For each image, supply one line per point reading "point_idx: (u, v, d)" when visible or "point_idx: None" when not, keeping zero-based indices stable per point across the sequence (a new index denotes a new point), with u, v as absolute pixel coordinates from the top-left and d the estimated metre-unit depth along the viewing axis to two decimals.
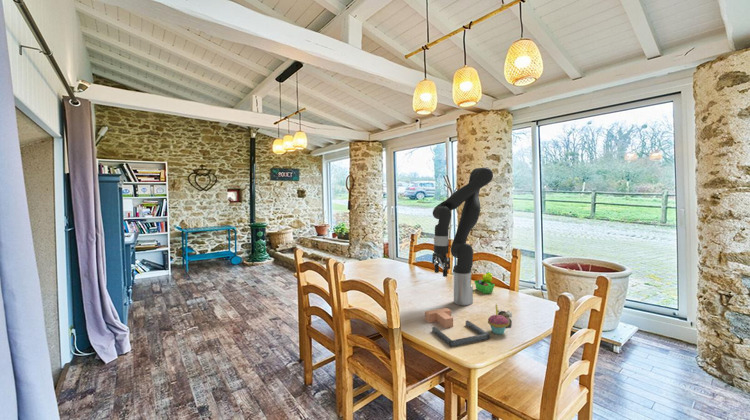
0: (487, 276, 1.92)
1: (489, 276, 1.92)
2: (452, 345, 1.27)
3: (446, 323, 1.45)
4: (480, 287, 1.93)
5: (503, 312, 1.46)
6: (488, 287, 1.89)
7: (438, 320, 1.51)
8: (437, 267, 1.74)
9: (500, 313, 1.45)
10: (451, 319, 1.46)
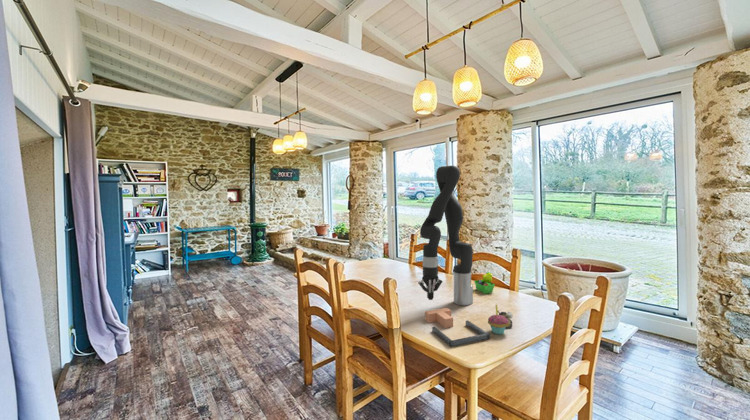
0: (487, 276, 1.92)
1: (489, 276, 1.92)
2: (452, 345, 1.27)
3: (446, 323, 1.45)
4: (480, 287, 1.93)
5: (504, 313, 1.45)
6: (488, 287, 1.89)
7: (438, 320, 1.51)
8: None
9: (501, 314, 1.44)
10: (451, 319, 1.46)
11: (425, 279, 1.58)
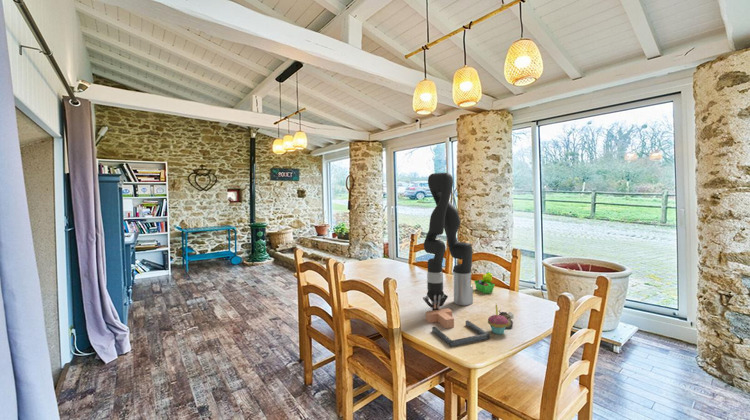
0: (487, 276, 1.92)
1: (489, 276, 1.92)
2: (452, 345, 1.27)
3: (447, 323, 1.44)
4: (480, 287, 1.93)
5: (504, 313, 1.45)
6: (488, 287, 1.89)
7: (439, 321, 1.50)
8: None
9: (501, 314, 1.44)
10: (452, 319, 1.45)
11: (430, 295, 1.54)
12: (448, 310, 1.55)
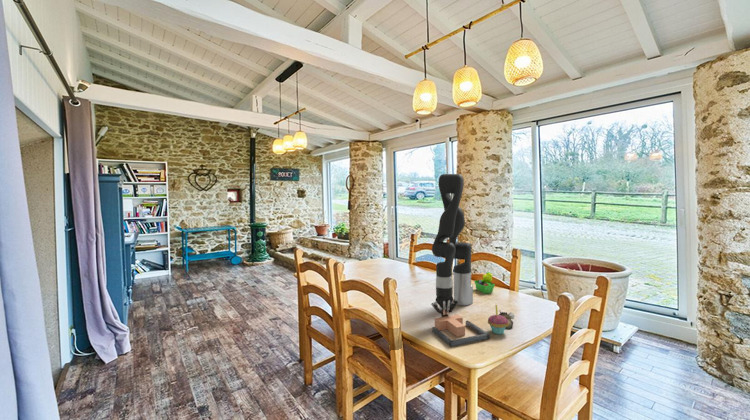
0: (487, 276, 1.92)
1: (489, 276, 1.92)
2: (452, 345, 1.27)
3: (458, 331, 1.36)
4: (480, 287, 1.93)
5: (504, 313, 1.45)
6: (488, 287, 1.89)
7: (449, 328, 1.42)
8: None
9: (501, 314, 1.44)
10: (463, 327, 1.37)
11: (439, 300, 1.46)
12: (458, 317, 1.47)
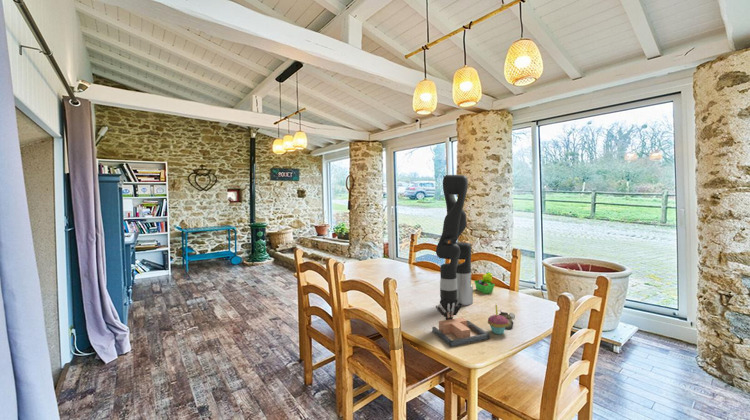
0: (487, 276, 1.92)
1: (489, 276, 1.92)
2: (452, 345, 1.27)
3: (463, 335, 1.33)
4: (480, 287, 1.93)
5: (504, 313, 1.45)
6: (488, 287, 1.89)
7: (453, 331, 1.39)
8: None
9: (501, 314, 1.44)
10: (468, 330, 1.33)
11: (443, 303, 1.43)
12: (463, 320, 1.43)
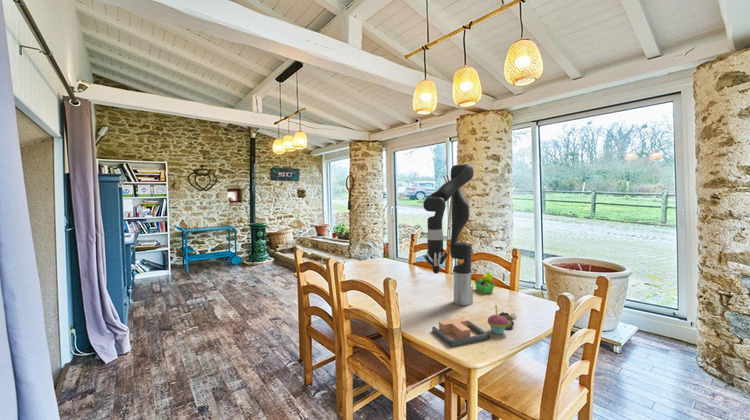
0: (487, 276, 1.92)
1: (489, 276, 1.92)
2: (452, 345, 1.27)
3: (463, 335, 1.33)
4: (480, 287, 1.93)
5: (505, 314, 1.44)
6: (488, 287, 1.89)
7: (454, 331, 1.38)
8: None
9: (501, 314, 1.44)
10: (468, 330, 1.33)
11: (430, 252, 1.54)
12: (463, 320, 1.43)
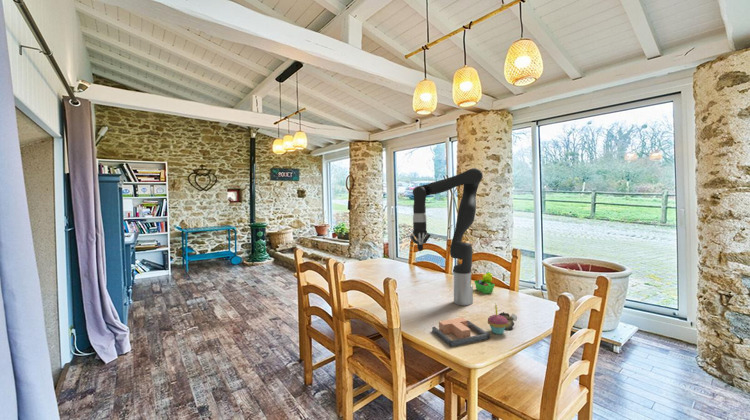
0: (487, 276, 1.92)
1: (489, 276, 1.92)
2: (452, 345, 1.27)
3: (463, 335, 1.33)
4: (480, 287, 1.93)
5: (505, 314, 1.44)
6: (488, 287, 1.89)
7: (454, 331, 1.38)
8: None
9: (501, 315, 1.44)
10: (468, 330, 1.33)
11: (415, 233, 1.83)
12: (463, 320, 1.43)
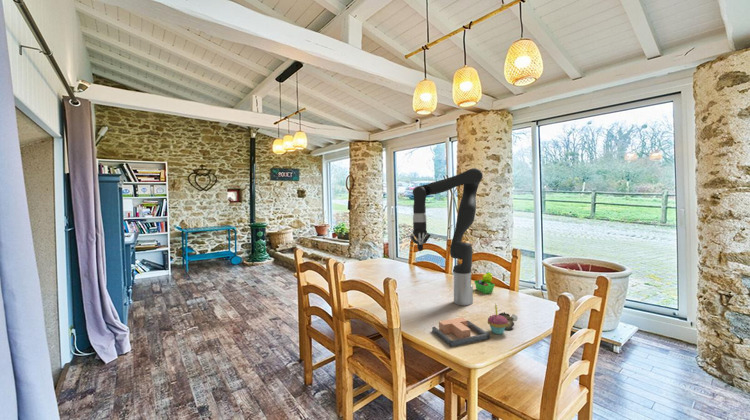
0: (487, 276, 1.92)
1: (489, 276, 1.92)
2: (452, 345, 1.27)
3: (463, 335, 1.33)
4: (480, 287, 1.93)
5: (505, 314, 1.44)
6: (488, 287, 1.89)
7: (454, 331, 1.38)
8: None
9: (500, 315, 1.43)
10: (468, 330, 1.33)
11: (415, 233, 1.83)
12: (463, 320, 1.43)
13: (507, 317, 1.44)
